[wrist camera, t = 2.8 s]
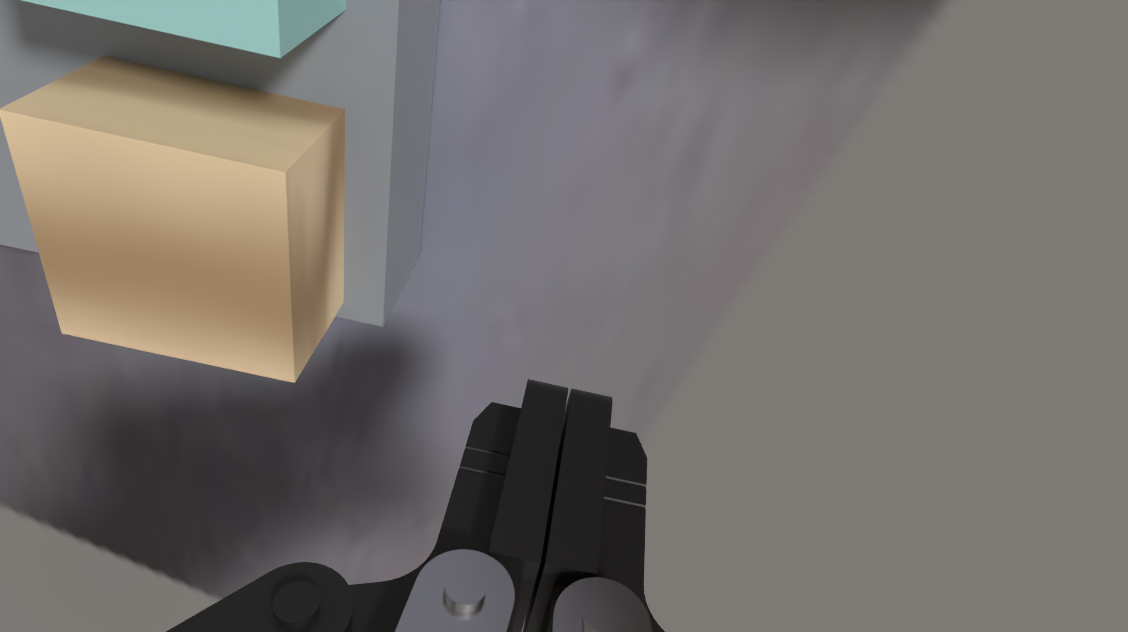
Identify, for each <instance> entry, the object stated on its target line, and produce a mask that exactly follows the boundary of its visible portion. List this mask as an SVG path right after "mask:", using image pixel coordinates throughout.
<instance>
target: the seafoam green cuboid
mask: <svg viewBox="0 0 1128 632" xmlns="http://www.w3.org/2000/svg"><path fill="white" fill-rule="evenodd" d="M22 1H26V2H31V3H35V4H40V5H44V6H49V7H53V8H58V9H62V10H67V11H71V12H76V13H80V14H85V15H89V16H93V17H98V18H102V19H107V20H111V21H116V22H120V23H125V24H129V25H134V26H138V27H143V28H147V29H152V30H156V31H161V32H165V33H170V34H174V35H179V36H183V37H188V38H192V39H197V40H201V41H206V42H210V43H215V44H219V45H224V46H228V47H233V48H237V49H242V50H246V51H251V52H255V53H259V54H264V55H268V56H273V57H277V58H281V57H283V56H284V55H285V54H287V53H288V52H289V51H291V50H292V49H293V48H295V47H296V46H297V45H299V44H300V43H301V42H303V41H304V40H305V39H307V38H308V37H310V36H311V35H312V34H314V33H315V32H316V31H318V30H319V29H320V28H322V27H323V26H324V25H326V24H327V23H328V22H330V21H331V20H332V19H334V18H335V17H336V16H338V15H339V14H340V13H342V12H343V11H344V10H346V0H22Z"/></svg>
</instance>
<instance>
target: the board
mask: <svg viewBox="0 0 1128 632" xmlns="http://www.w3.org/2000/svg"><path fill="white" fill-rule="evenodd" d="M440 2H441V0H346V10H344V11H343V12H342V13H340V14H339V15H338V16H336V17H335V18H334V19H332V20H331V21H330V22H328V23H327V24H326V25H324V26H323V27H322V28H320V29H319V30H318V31H316V32H315V33H314V34H312V35H311V36H310V37H308V38H307V39H305V40H304V41H303V42H301V43H300V44H299V45H297V46H296V47H295V48H293V49H292V50H291V51H289V52H288V53H287V54H285V55H284V56H283V57H281V58H277V57H273V56H268V55H264V54H259V53H255V52H251V51H246V50H242V49H237V48H233V47H228V46H224V45H219V44H215V43H210V42H206V41H201V40H197V39H192V38H188V37H183V36H179V35H174V34H170V33H165V32H161V31H156V30H152V29H147V28H143V27H138V26H134V25H129V24H125V23H120V22H116V21H111V20H107V19H102V18H98V17H93V16H89V15H85V14H80V13H76V12H71V11H67V10H62V9H58V8H53V7H49V6H44V5H40V4H35V3H31V2H26V1H22V0H0V108H2V107H4V106H6V105H8V104H10V103H12V102H14V101H16V100H18V99H20V98H22V97H24V96H26V95H27V94H29V93H31V92H33V91H35V90H37V89H39V88H41V87H43V86H45V85H47V84H49V83H51V82H53V81H55V80H57V79H59V78H61V77H63V76H65V75H67V74H69V73H71V72H73V71H75V70H77V69H79V68H81V67H83V66H85V65H87V64H89V63H91V62H93V61H95V60H97V59H99V58H101V57H103V56H107V57H112V58H116V59H121V60H125V61H130V62H134V63H139V64H143V65H148V66H152V67H157V68H161V69H166V70H170V71H175V72H179V73H184V74H188V75H193V76H197V77H202V78H206V79H211V80H215V81H220V82H224V83H229V84H233V85H238V86H242V87H247V88H251V89H256V90H260V91H265V92H269V93H274V94H278V95H283V96H287V97H292V98H296V99H301V100H305V101H310V102H314V103H319V104H324V105H328V106H333V107H337V108H342V109H345V198H344V303H343V304H342V306H341V308H340V309H339V311H338V312H337V314H336V316H335V317H340V318H345V319H349V320H354V321H358V322H363V323H368V324H372V325H377V326H382V327H383V326H384V324H385V322H386V320H387V318H388V316H389V314H390V312H391V310H392V308H393V306H394V304H395V302H396V300H397V298H398V296H399V294H400V292H401V290H402V288H403V286H404V284H405V282H406V280H407V278H408V276H409V274H410V272H411V270H412V268H413V267H414V265H415V263H416V261H417V259H418V257H419V255H420V247H421V235H422V222H423V210H424V198H425V185H426V173H427V161H428V149H429V136H430V124H431V112H432V100H433V87H434V75H435V63H436V51H437V38H438V26H439V14H440ZM0 244H1V245H6V246H10V247H15V248H19V249H24V250H29V251H33V252H38V253H39V251H38V248H37V244H36V241H35V237H34V234H33V230H32V227H31V223H30V220H29V216H28V213H27V209H26V206H25V202H24V199H23V195H22V191H21V188H20V184H19V181H18V177H17V174H16V170H15V167H14V163H13V160H12V156H11V153H10V149H9V146H8V142H7V139H6V135H5V132H4V128H3V125H2V121H1V118H0Z"/></svg>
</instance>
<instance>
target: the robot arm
mask: <svg viewBox="0 0 1128 632" xmlns="http://www.w3.org/2000/svg"><path fill="white" fill-rule="evenodd" d="M567 394H568V388H566V387H561V386H557V385H552V384H548V383H543V382H538V381H534V380H529V379H528V382H527V386H526V390H525V395H524V399H523V403H522V407H521V408H516V407H512V406H507V405H503V404H498V403H493V402H491V403H490V404H489V405H488V406H487V407H486V408H485V409H484V410H483V412H482V413H481V414H480V415H479V416H478V417H477V418H476V419H475V420H474V421H473V424H472V427H471V430H470V434H469V437H468V440H467V444H466V448H465V450H464V454H463V457H462V460H461V463H460V468H459V470H458V473H457V477H456V480H455V483H454V487H453V490H452V493H451V497H450V500H449V503H448V507H447V510H446V513H445V516H444V520H443V523H442V526H441V530H440V533H439V536H438V540H437V543H436V545H435V548H434V550H433V551H432V553H431V554H430V556H429V557H428V558H427V559H426V561H425V562H424V563H423V564H421V565H420V566H419V567H418V568H417V569H415V570H414V571H412V572H410V573H409V574H407V575H404V576H402V577H400V578H397V579H393V580H389V581H383V582H375V583H365V584H355V585H348V584H347V582H346V581H345V579H344V578H343V577H342V576H341V575H340V574H339V573H337V572H336V571H334V570H333V569H331V568H329V567H327V566H325V565H321V564H317V563H310V562H300V563H293V564H288V565H285V566H282V567H279V568H276V569H274V570H272V571H270V572H269V573H267V574H265V575H263V576H262V577H260V578H258V579H256V580H255V581H253V582H251V583H250V584H248V585H246V586H244V587H243V588H241V589H239V590H237V591H236V592H234V593H232V594H230V595H229V596H227V597H225V598H224V599H222V600H220V601H218V602H217V603H215V604H213V605H212V606H210V607H208V608H206V609H205V610H203V611H201V612H199V613H198V614H196V615H194V616H192V617H191V618H189V619H187V620H186V621H184V622H182V623H180V624H179V625H177V626H175V627H173V628H172V629H170V630H168V631H167V632H521V630H522V627H523V623H524V619H525V624H524V629H523V632H664V630H663V629H662V628H661V627H660V626H659V625H658V623H657V622H656V621H655V619H654V618H653V616H652V614H651V613H650V610H649V608H648V606H647V603H646V600H645V595H644V552H645V516H646V514H645V512H646V510H645V505H646V480H647V457H646V454H645V452H644V450H643V448H642V446H641V443H640V441H639V439H638V437H637V435H636V433H633V432H628V431H623V430H619V429H614V428H610V423H611V411H612V397H608V396H604V395H599V394H594V393H590V392H585V391H581V390H576V389H571V391H570V395H569V398H568V402H567V406H566V401H567ZM565 407H566V410H565ZM564 413H565V414H564ZM525 616H526V618H525Z"/></svg>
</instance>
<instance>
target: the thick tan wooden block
mask: <svg viewBox="0 0 1128 632" xmlns="http://www.w3.org/2000/svg"><path fill="white" fill-rule="evenodd" d="M0 118H1V121H2V125H3V128H4V132H5V135H6V139H7V142H8V146H9V149H10V153H11V156H12V160H13V163H14V167H15V170H16V174H17V177H18V181H19V184H20V188H21V191H22V195H23V199H24V202H25V206H26V209H27V213H28V216H29V220H30V223H31V227H32V230H33V234H34V237H35V241H36V244H37V248H38V251H39V255H40V258H41V262H42V265H43V269H44V272H45V276H46V279H47V283H48V286H49V290H50V293H51V297H52V300H53V304H54V307H55V311H56V314H57V318H58V321H59V325H60V328H61V332H62V333H63V334H68V335H72V336H77V337H82V338H86V339H91V340H96V341H100V342H105V343H110V344H114V345H119V346H124V347H129V348H133V349H138V350H143V351H147V352H152V353H157V354H161V355H166V356H171V357H175V358H180V359H185V360H190V361H194V362H199V363H204V364H208V365H213V366H218V367H222V368H227V369H232V370H236V371H241V372H246V373H251V374H255V375H260V376H265V377H269V378H274V379H279V380H283V381H288V382H293V383H295V382H296V380H297V379H298V377H299V375H300V374H301V372H302V370H303V369H304V367H305V365H306V364H307V362H308V360H309V359H310V357H311V355H312V354H313V352H314V350H315V349H316V347H317V345H318V344H319V342H320V341H321V339H322V337H323V336H324V334H325V332H326V331H327V329H328V327H329V326H330V324H331V322H332V321H333V319H334V317H335V316H336V314H337V312H338V311H339V309H340V308H341V306H342V304H343V303H344V198H345V109H342V108H337V107H333V106H328V105H324V104H319V103H314V102H310V101H305V100H301V99H296V98H292V97H287V96H283V95H278V94H274V93H269V92H265V91H260V90H256V89H251V88H247V87H242V86H238V85H233V84H229V83H224V82H220V81H215V80H211V79H206V78H202V77H197V76H193V75H188V74H184V73H179V72H175V71H170V70H166V69H161V68H157V67H152V66H148V65H143V64H139V63H134V62H130V61H125V60H121V59H116V58H112V57H107V56H103V57H101V58H99V59H97V60H95V61H93V62H91V63H89V64H87V65H85V66H83V67H81V68H79V69H77V70H75V71H73V72H71V73H69V74H67V75H65V76H63V77H61V78H59V79H57V80H55V81H53V82H51V83H49V84H47V85H45V86H43V87H41V88H39V89H37V90H35V91H33V92H31V93H29V94H27V95H26V96H24V97H22V98H20V99H18V100H16V101H14V102H12V103H10V104H8V105H6V106H4V107H2V108H0Z"/></svg>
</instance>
